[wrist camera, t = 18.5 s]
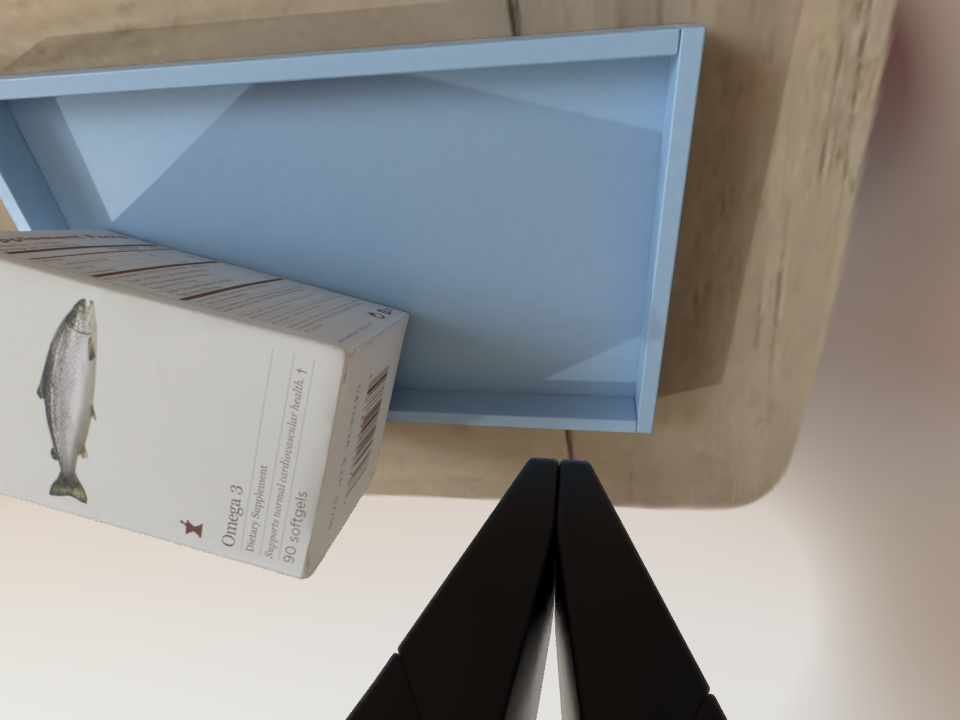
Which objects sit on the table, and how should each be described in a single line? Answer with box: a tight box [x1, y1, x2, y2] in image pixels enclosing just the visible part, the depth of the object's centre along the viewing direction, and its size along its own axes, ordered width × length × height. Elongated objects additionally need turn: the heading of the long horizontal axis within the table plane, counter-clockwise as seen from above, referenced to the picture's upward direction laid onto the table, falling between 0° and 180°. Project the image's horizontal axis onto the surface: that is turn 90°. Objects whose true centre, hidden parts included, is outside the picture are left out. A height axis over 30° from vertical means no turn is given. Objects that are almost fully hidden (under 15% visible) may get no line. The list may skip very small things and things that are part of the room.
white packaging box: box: [0, 229, 409, 579], centre depth 18 cm, size 7×7×13 cm
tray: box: [0, 23, 706, 433], centre depth 20 cm, size 23×13×2 cm, turn 95°
